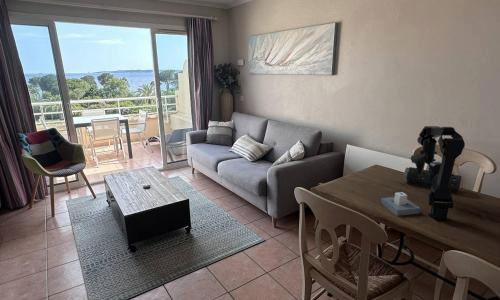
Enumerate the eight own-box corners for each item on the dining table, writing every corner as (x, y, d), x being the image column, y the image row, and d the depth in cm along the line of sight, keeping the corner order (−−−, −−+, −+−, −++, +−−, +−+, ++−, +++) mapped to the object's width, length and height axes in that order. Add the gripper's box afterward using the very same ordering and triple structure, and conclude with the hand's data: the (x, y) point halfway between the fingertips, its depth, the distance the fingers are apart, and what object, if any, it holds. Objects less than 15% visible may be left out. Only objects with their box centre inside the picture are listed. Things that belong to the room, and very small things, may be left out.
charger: (405, 209, 143) (407, 194, 141) (398, 210, 143) (399, 195, 141) (400, 206, 147) (402, 191, 145) (393, 206, 147) (395, 192, 145)
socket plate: (419, 213, 139) (420, 207, 138) (396, 215, 138) (397, 209, 137) (401, 201, 152) (402, 195, 151) (381, 203, 151) (381, 197, 150)
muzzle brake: (457, 195, 157) (460, 178, 154) (402, 184, 175) (404, 168, 172) (459, 189, 164) (462, 173, 161) (406, 179, 182) (407, 164, 179)
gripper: (403, 146, 157) (400, 172, 161) (427, 155, 139) (423, 184, 144) (422, 144, 158) (418, 170, 162) (447, 153, 140) (443, 182, 145)
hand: (424, 176), depth 153 cm, fingers open, 9 cm apart
